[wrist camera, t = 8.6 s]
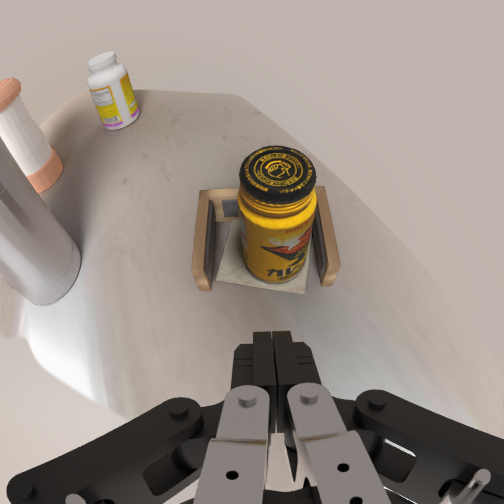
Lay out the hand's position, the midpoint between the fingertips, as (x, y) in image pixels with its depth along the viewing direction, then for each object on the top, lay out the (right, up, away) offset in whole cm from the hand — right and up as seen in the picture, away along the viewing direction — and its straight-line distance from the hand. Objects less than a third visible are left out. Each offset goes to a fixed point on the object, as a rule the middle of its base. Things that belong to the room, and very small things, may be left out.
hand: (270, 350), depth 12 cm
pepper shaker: (-34, +16, +28) cm, 46 cm away
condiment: (+1, +4, +19) cm, 19 cm away
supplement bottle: (-23, +26, +34) cm, 49 cm away
